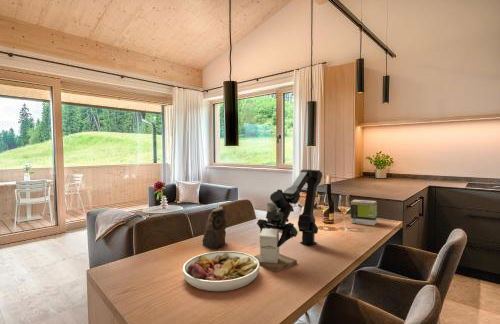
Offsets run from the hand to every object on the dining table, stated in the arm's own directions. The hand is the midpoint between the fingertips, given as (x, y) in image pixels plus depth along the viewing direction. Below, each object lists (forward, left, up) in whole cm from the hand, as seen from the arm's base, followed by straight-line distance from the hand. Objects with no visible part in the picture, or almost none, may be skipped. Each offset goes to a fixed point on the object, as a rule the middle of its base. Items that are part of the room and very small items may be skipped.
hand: (268, 244), depth 124 cm
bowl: (+21, -5, -9) cm, 24 cm away
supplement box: (-1, -1, -7) cm, 7 cm away
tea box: (-95, -5, -9) cm, 95 cm away
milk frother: (-48, -38, -9) cm, 62 cm away
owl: (+2, -38, -9) cm, 39 cm away
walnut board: (-3, -1, -9) cm, 9 cm away
